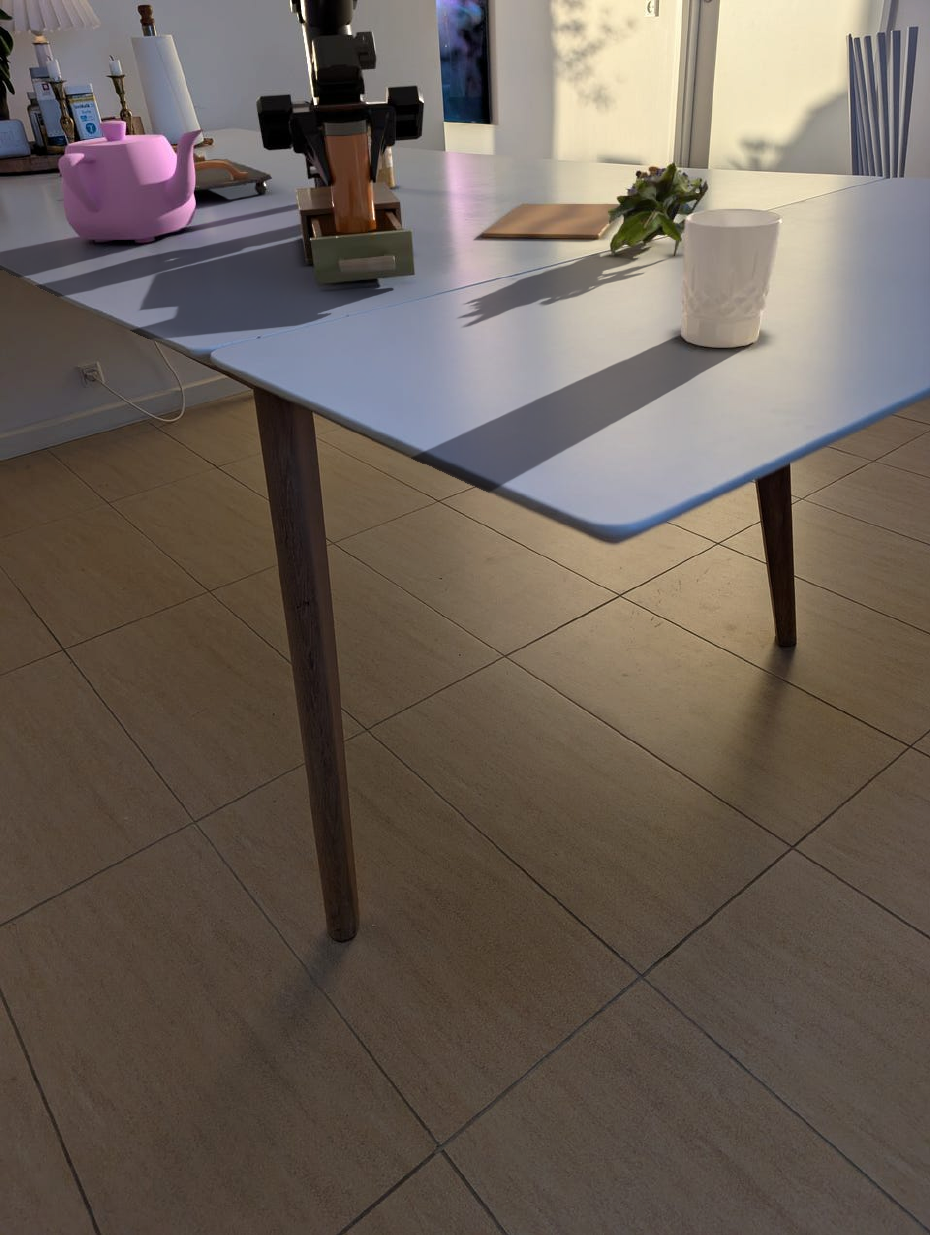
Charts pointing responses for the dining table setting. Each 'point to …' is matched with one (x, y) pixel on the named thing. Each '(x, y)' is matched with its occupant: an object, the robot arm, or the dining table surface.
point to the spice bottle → (350, 174)
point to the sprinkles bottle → (383, 163)
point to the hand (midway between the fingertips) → (351, 182)
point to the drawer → (361, 250)
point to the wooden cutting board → (553, 221)
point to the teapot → (128, 185)
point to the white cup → (727, 274)
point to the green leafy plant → (655, 206)
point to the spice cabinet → (321, 203)
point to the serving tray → (225, 174)
